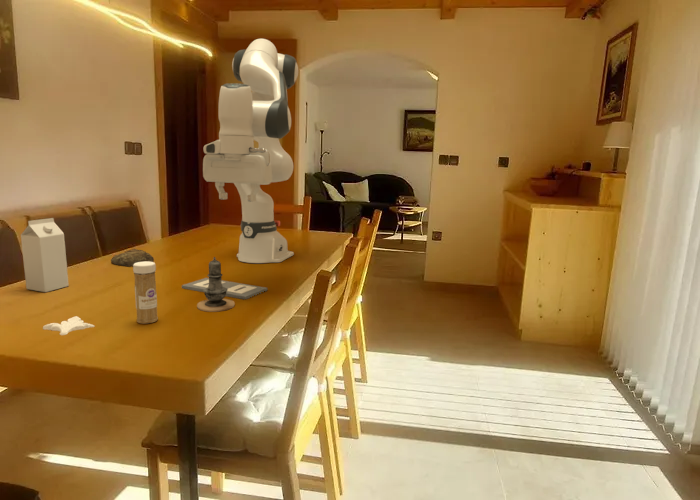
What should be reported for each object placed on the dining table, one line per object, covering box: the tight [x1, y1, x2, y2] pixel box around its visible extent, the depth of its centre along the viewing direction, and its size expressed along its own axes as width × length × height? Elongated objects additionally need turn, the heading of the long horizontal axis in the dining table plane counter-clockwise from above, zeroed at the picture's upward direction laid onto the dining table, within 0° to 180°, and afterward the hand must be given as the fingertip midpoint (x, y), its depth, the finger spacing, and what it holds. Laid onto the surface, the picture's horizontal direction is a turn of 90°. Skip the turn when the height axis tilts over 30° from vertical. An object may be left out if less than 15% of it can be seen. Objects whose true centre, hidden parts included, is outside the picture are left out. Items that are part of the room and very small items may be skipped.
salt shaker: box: [202, 256, 228, 307], centre depth 119 cm, size 6×6×12 cm
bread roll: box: [110, 248, 155, 268], centre depth 165 cm, size 13×12×5 cm
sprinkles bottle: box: [132, 261, 159, 325], centre depth 107 cm, size 5×5×13 cm
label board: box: [181, 277, 268, 300], centre depth 135 cm, size 10×22×1 cm, turn 65°
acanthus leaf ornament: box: [42, 315, 95, 336], centre depth 103 cm, size 8×7×2 cm
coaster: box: [196, 298, 236, 313], centre depth 120 cm, size 9×9×1 cm
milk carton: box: [20, 217, 70, 293], centre depth 130 cm, size 7×7×19 cm
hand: (237, 200), depth 128 cm, fingers open, 8 cm apart
